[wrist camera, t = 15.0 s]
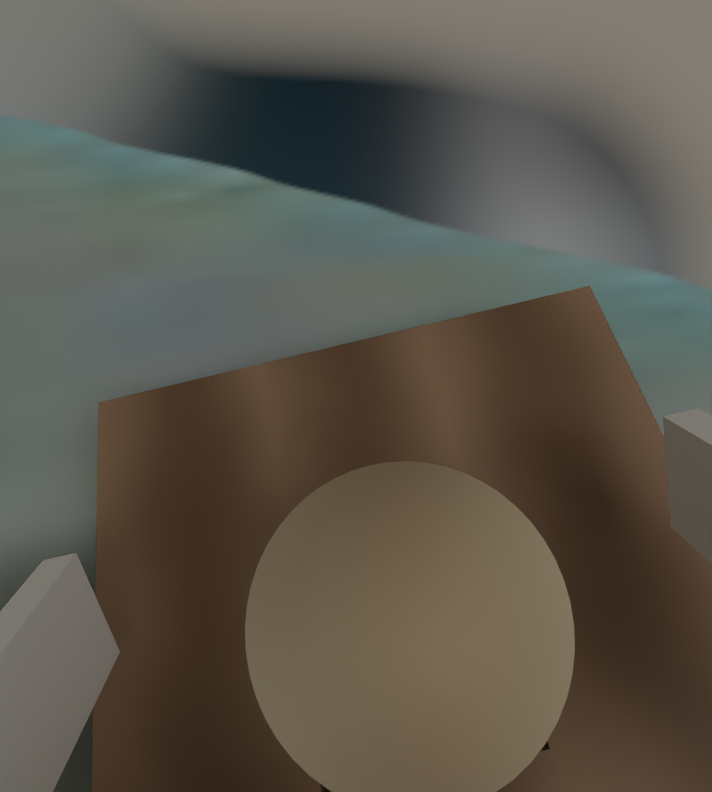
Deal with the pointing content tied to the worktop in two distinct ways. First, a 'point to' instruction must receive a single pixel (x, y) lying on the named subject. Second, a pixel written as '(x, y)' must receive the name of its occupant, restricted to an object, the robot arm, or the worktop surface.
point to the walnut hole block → (394, 442)
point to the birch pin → (409, 633)
